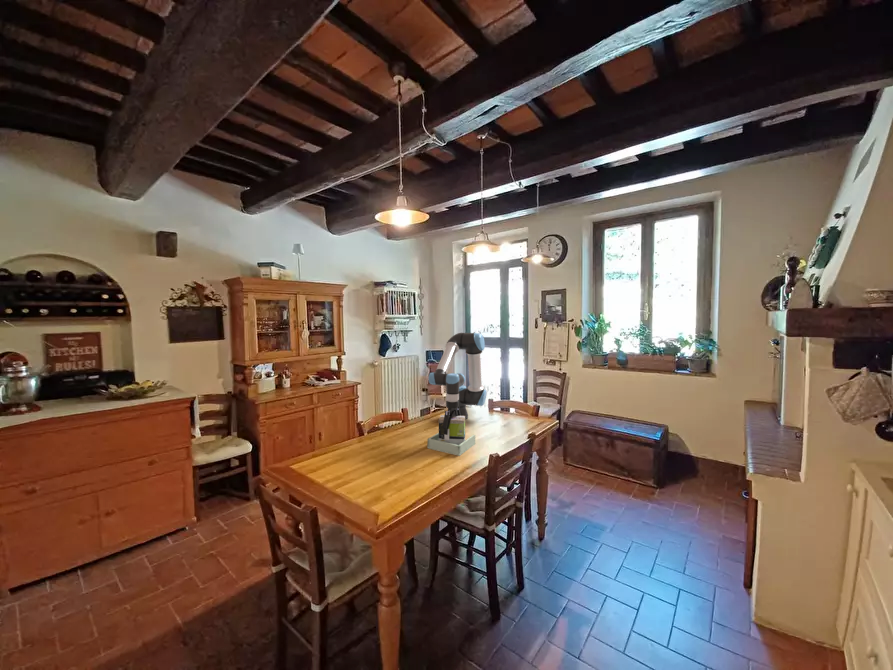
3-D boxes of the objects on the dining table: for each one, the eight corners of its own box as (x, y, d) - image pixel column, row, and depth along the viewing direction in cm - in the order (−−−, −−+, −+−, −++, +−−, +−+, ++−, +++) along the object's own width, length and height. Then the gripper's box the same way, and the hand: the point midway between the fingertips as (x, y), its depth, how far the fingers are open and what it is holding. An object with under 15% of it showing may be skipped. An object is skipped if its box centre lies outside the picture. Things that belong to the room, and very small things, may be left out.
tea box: (465, 439, 219) (465, 415, 218) (464, 445, 209) (464, 420, 208) (440, 438, 221) (440, 414, 220) (438, 444, 211) (438, 419, 210)
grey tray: (444, 437, 228) (445, 428, 228) (475, 444, 218) (475, 435, 217) (427, 448, 211) (427, 439, 211) (459, 455, 201) (459, 446, 200)
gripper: (456, 395, 225) (456, 429, 227) (436, 404, 204) (435, 441, 206) (467, 396, 221) (467, 431, 223) (447, 406, 200) (447, 444, 202)
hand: (452, 436), depth 215 cm, fingers closed on tea box, 12 cm apart
